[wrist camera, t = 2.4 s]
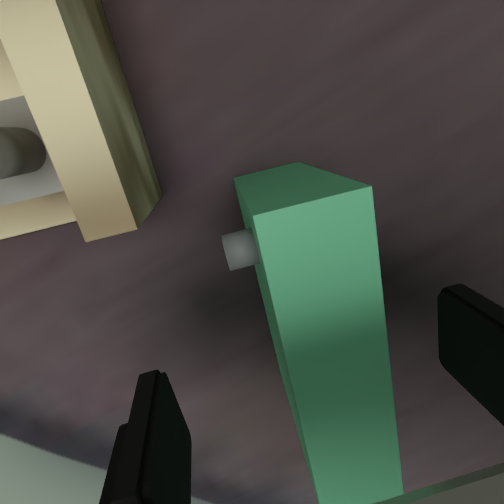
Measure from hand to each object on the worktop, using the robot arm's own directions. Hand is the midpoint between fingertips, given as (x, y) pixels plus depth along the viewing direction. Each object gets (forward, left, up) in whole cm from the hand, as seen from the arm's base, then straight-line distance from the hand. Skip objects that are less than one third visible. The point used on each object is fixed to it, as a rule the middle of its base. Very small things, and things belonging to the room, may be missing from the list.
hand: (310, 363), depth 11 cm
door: (-1, -1, -7) cm, 7 cm away
